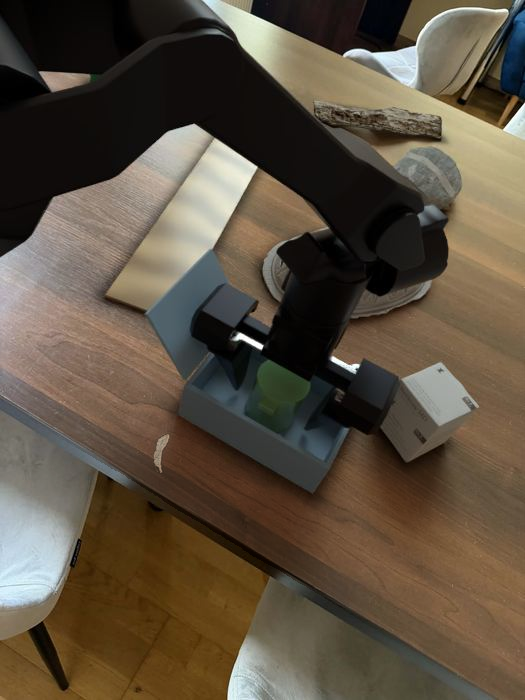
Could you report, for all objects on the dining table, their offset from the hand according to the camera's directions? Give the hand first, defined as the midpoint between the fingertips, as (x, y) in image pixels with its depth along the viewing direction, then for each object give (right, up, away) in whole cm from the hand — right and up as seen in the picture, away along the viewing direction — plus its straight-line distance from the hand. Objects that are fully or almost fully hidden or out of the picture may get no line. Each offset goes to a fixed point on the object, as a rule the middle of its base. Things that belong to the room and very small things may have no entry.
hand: (272, 406), depth 58 cm
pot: (0, -1, +1) cm, 1 cm away
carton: (0, -1, +1) cm, 1 cm away
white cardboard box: (+15, -3, +4) cm, 15 cm away
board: (-9, +24, +19) cm, 32 cm away
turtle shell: (+11, +16, +18) cm, 26 cm away
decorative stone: (+23, +30, +34) cm, 51 cm away
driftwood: (+20, +46, +47) cm, 69 cm away
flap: (-7, +9, -4) cm, 12 cm away
